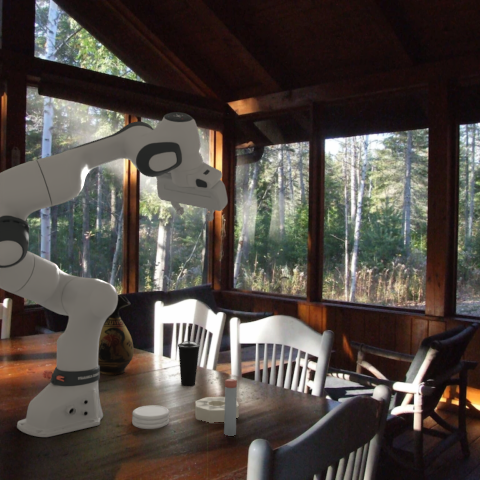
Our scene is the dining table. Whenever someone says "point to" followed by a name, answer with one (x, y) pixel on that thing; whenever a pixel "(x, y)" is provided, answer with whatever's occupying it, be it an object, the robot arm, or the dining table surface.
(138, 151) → the robot arm
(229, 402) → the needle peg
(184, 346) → the drinking cup
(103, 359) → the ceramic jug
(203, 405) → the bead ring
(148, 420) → the white short cylinder
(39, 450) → the dining table surface
